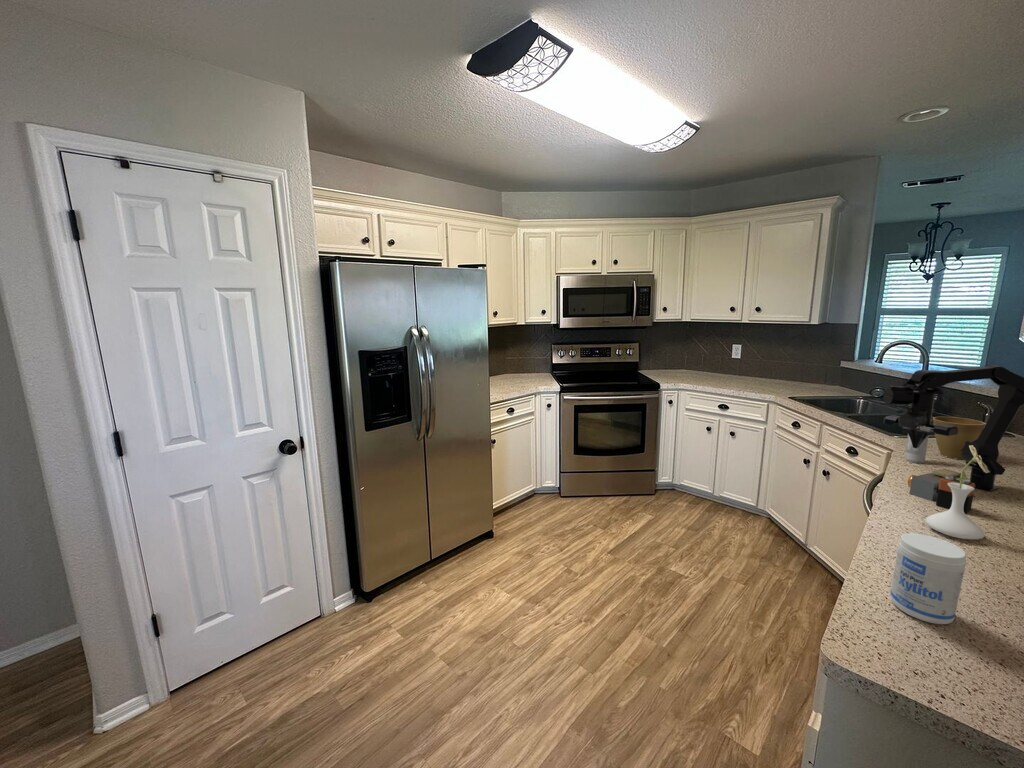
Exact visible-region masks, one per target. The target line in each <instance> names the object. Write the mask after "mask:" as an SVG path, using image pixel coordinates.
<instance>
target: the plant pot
mask: <svg viewBox="0 0 1024 768" xmlns="http://www.w3.org/2000/svg"><path fill="white" fill-rule="evenodd" d="M932 420H933V423H932V424H933V425H940V424H946V425H952V426H956V427H957V428H958V434H957V435H951V436H945V435H940V434H936V433H934V437H935V439H936V445H937V447H938V450H939V453H940V455H941V456H942V455H943V457H944V456H947V457H946V458H948V457H951V458H950V459H953V458H958V459H957V460H964V459H963V458H962V456H961V454H962V451H960V450H961V449H963V447H964V445H965V443H966V441H969V442H973V441H975V440H976V439H978V437H979V436H980V434H981V432H982V430H983V428H984V427H985V425H986V422H983V421H981V420H977V419H976V420H975V419H972V418H963V417H957V416H956V417H955V416H935V417H933V418H932Z"/></svg>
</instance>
